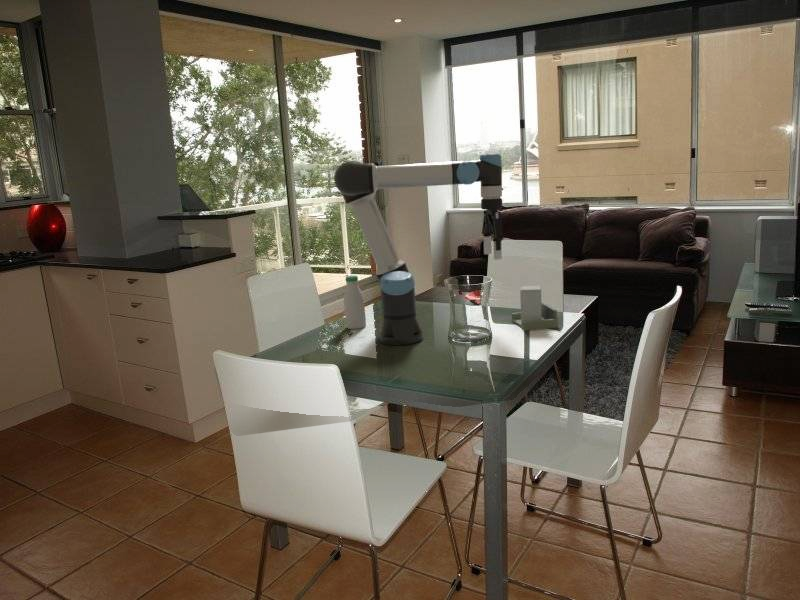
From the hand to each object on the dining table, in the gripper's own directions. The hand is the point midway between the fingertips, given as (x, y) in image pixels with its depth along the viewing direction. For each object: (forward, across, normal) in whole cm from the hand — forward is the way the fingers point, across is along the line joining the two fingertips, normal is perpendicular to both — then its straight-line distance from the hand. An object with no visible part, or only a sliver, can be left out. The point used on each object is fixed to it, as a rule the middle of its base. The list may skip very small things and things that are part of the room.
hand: (492, 256), depth 237 cm
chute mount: (+24, -8, -13) cm, 29 cm away
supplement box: (+24, -8, -12) cm, 28 cm away
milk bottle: (+27, +16, +51) cm, 59 cm away
